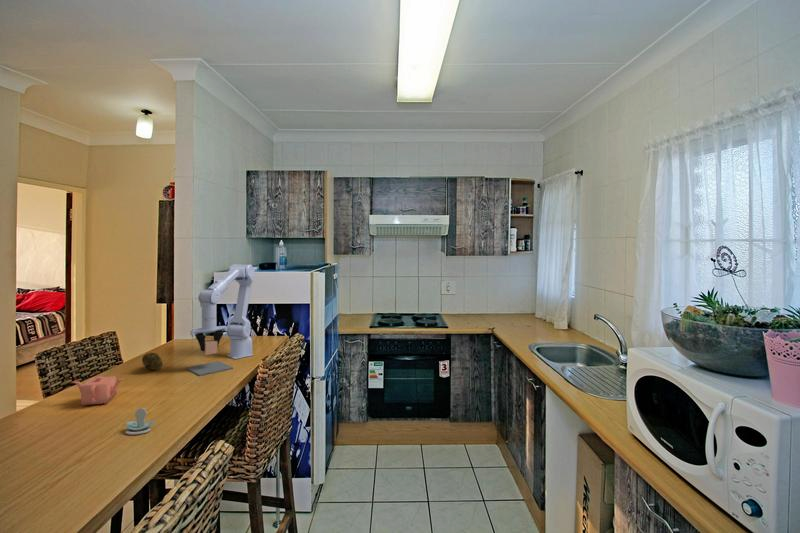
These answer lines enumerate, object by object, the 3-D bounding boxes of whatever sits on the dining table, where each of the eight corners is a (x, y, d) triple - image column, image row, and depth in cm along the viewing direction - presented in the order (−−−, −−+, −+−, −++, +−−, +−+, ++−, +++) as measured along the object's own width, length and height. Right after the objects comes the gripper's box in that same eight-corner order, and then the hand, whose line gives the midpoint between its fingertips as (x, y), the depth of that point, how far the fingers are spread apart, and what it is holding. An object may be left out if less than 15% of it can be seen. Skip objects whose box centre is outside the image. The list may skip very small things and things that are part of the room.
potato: (170, 365, 179) (170, 347, 179) (156, 374, 166) (156, 355, 166) (150, 365, 178) (150, 347, 178) (134, 374, 165) (134, 355, 165)
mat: (218, 362, 185) (218, 360, 185) (233, 368, 176) (233, 367, 175) (185, 368, 174) (185, 367, 174) (199, 376, 165) (199, 374, 165)
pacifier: (148, 435, 114) (157, 425, 120) (147, 414, 114) (157, 405, 120) (119, 437, 113) (130, 426, 119) (119, 415, 113) (130, 406, 119)
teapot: (118, 406, 134) (118, 381, 134) (64, 410, 130) (63, 384, 129) (130, 393, 146) (130, 370, 145) (81, 397, 141) (80, 373, 141)
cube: (212, 350, 178) (212, 339, 178) (217, 352, 175) (217, 341, 175) (200, 352, 175) (200, 341, 174) (205, 355, 171) (205, 343, 171)
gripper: (221, 314, 182) (221, 344, 183) (187, 318, 171) (187, 350, 172) (229, 316, 177) (229, 347, 178) (194, 321, 166) (194, 353, 167)
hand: (209, 349), depth 175 cm, fingers closed on cube, 5 cm apart
